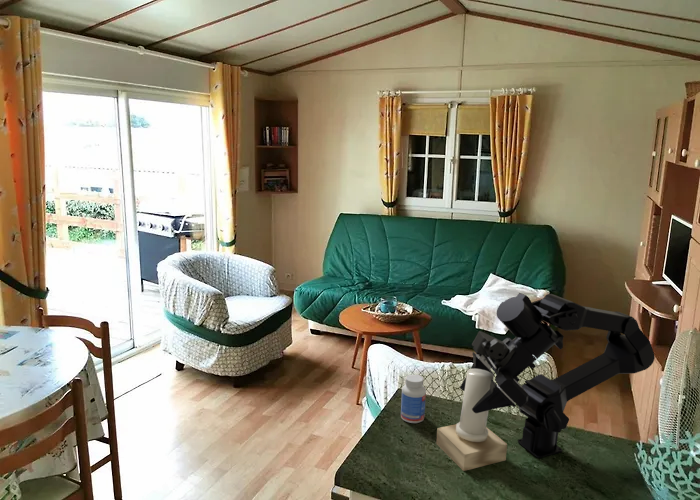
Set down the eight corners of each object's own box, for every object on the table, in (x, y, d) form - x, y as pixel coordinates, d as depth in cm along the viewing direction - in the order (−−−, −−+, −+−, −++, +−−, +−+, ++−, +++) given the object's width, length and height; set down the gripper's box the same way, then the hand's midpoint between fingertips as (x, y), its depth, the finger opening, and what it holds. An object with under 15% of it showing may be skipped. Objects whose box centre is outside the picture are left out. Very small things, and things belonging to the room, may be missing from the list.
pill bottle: (425, 424, 121) (427, 384, 119) (401, 423, 121) (403, 383, 119) (423, 411, 126) (425, 373, 124) (399, 411, 126) (401, 372, 124)
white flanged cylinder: (473, 425, 114) (482, 366, 112) (494, 439, 109) (503, 378, 107) (449, 428, 111) (457, 368, 109) (469, 443, 106) (478, 380, 104)
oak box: (476, 436, 117) (477, 419, 116) (505, 462, 108) (507, 444, 107) (436, 445, 113) (437, 428, 113) (463, 473, 104) (464, 454, 104)
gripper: (485, 305, 114) (431, 354, 116) (516, 338, 96) (451, 396, 97) (519, 340, 116) (465, 388, 118) (555, 379, 98) (491, 435, 100)
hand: (467, 399), depth 108 cm, fingers open, 9 cm apart
